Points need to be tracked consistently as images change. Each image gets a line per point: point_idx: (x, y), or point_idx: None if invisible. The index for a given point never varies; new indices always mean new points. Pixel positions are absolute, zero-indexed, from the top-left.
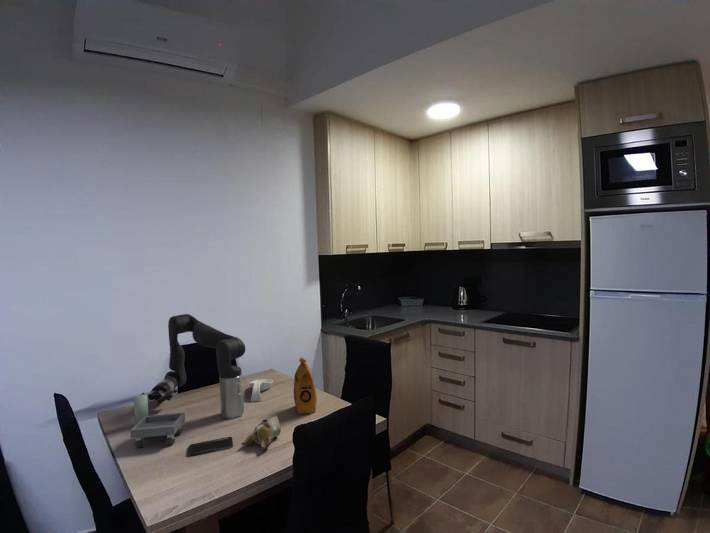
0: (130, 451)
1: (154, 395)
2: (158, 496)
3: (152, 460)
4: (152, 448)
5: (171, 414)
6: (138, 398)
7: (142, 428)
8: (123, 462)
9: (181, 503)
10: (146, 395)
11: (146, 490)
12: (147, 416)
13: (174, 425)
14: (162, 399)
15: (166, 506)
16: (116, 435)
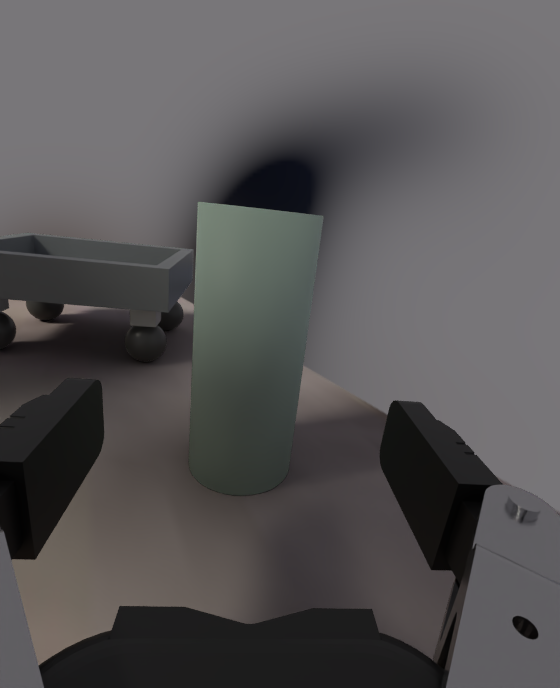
0: (192, 323)
1: (248, 630)
2: None
3: None
4: (117, 319)
5: (10, 253)
6: (257, 208)
7: (150, 245)
8: (192, 305)
9: None
10: (209, 203)
11: None
12: (151, 265)
13: (23, 233)
14: (16, 414)
15: None
16: (328, 394)
